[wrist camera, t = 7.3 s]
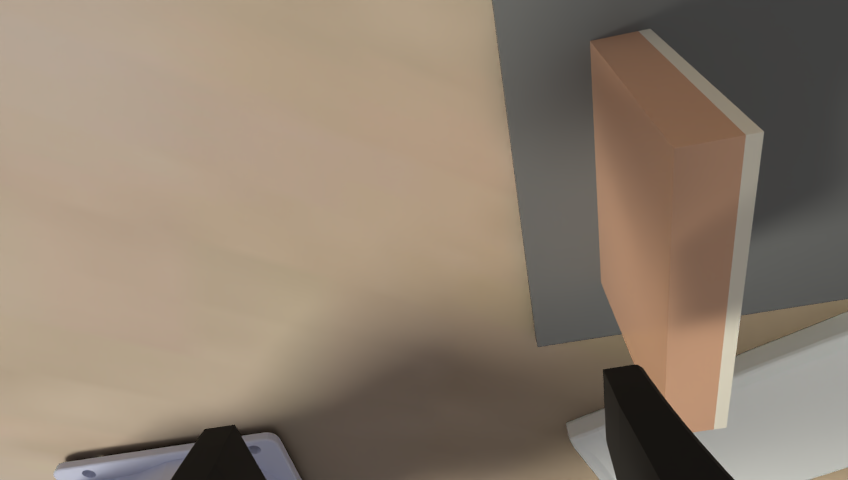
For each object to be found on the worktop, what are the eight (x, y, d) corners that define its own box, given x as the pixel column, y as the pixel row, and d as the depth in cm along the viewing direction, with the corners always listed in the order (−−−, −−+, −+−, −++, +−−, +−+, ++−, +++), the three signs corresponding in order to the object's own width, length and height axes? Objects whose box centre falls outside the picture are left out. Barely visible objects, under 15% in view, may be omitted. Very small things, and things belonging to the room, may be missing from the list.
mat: (535, 339, 22) (537, 347, 22) (482, -73, 14) (484, -70, 14) (843, 290, 21) (850, 298, 21) (960, -179, 13) (975, -179, 13)
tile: (600, 282, 20) (663, 436, 15) (589, 41, 16) (673, 148, 11) (647, 274, 20) (726, 427, 15) (650, 28, 15) (764, 131, 10)
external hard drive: (915, 409, 26) (634, 506, 29) (883, 281, 22) (561, 412, 25) (943, 442, 24) (645, 539, 28) (915, 312, 20) (570, 446, 24)
